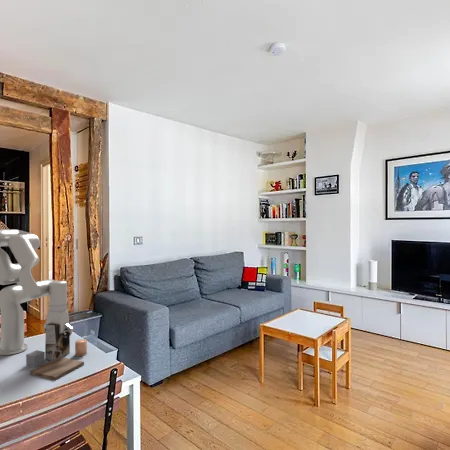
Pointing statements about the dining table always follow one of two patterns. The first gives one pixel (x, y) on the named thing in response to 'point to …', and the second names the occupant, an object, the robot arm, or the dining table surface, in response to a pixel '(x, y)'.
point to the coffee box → (55, 343)
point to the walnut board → (57, 368)
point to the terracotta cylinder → (80, 347)
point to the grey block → (35, 358)
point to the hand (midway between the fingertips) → (58, 344)
